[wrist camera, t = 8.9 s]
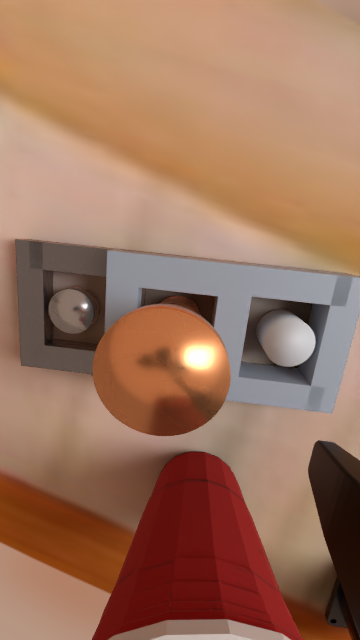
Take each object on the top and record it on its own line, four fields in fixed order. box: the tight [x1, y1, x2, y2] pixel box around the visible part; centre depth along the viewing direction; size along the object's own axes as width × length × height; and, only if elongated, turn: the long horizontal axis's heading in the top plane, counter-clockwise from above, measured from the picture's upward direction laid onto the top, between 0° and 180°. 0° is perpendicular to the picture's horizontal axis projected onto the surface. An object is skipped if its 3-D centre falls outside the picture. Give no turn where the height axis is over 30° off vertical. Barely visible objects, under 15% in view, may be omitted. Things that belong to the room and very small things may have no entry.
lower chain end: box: [15, 239, 253, 374], centre depth 19 cm, size 8×14×1 cm, turn 84°
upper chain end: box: [104, 250, 360, 414], centre depth 18 cm, size 8×14×2 cm, turn 84°
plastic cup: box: [92, 452, 303, 640], centre depth 17 cm, size 11×11×12 cm
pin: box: [93, 296, 231, 436], centre depth 15 cm, size 5×5×8 cm
